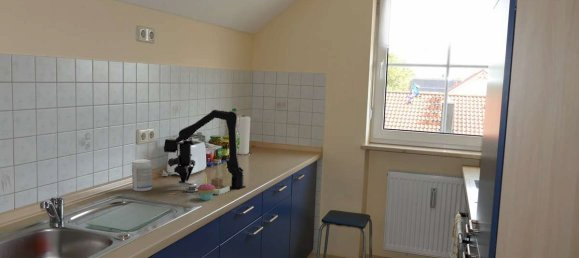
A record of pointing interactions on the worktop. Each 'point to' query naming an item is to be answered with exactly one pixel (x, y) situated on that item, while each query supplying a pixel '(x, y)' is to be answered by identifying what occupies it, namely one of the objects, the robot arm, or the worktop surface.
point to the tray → (222, 190)
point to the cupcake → (206, 190)
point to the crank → (187, 184)
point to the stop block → (217, 183)
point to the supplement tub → (142, 175)
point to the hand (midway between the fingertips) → (185, 182)
